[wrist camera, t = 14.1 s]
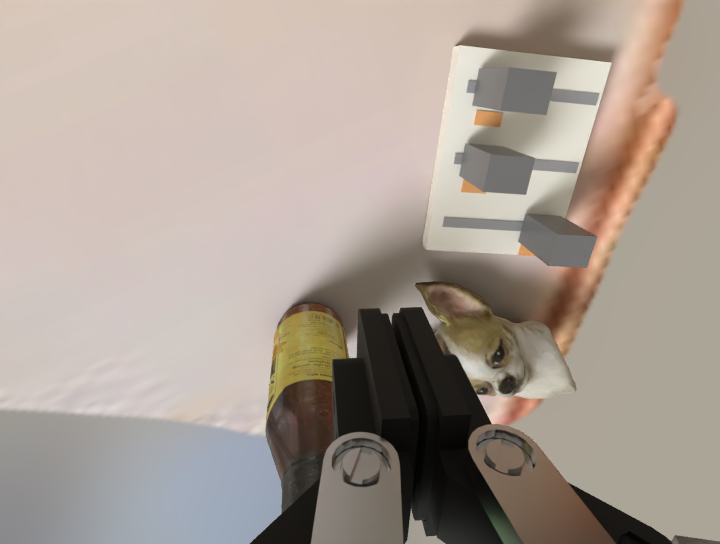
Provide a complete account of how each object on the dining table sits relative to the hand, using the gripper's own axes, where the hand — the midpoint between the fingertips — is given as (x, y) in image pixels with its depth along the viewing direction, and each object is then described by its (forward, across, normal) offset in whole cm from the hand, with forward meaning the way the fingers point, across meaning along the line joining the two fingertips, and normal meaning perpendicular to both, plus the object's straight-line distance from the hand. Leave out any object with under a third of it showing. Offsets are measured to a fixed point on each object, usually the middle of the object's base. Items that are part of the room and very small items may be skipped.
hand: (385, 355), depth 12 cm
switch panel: (+24, -13, -1) cm, 28 cm away
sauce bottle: (+24, +2, +15) cm, 28 cm away
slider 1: (+23, -11, -6) cm, 26 cm away
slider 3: (+23, -16, +4) cm, 28 cm away
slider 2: (+23, -11, -1) cm, 25 cm away
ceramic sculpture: (+24, -13, +15) cm, 31 cm away
